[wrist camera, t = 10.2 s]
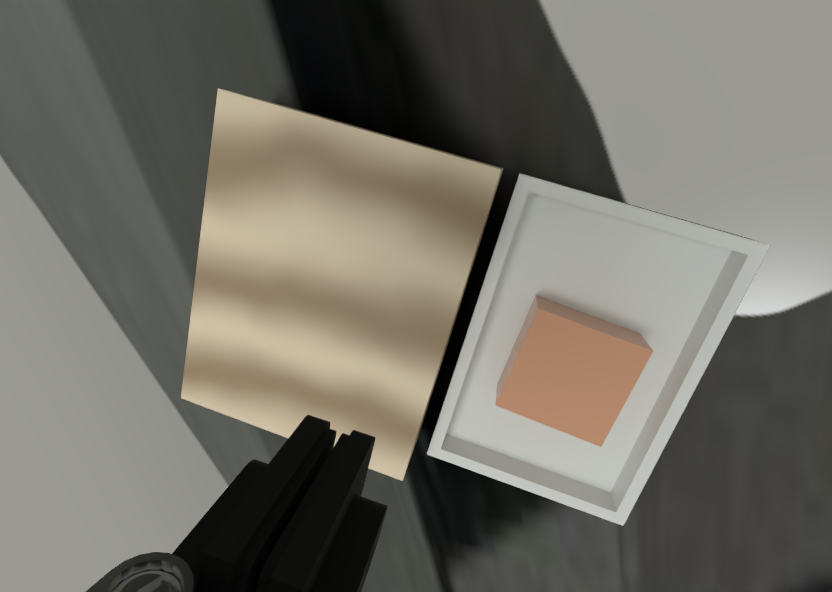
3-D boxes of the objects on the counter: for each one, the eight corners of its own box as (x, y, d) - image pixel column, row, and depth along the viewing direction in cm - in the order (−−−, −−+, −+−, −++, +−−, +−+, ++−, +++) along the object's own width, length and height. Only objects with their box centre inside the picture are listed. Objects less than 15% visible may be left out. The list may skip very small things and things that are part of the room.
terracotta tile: (653, 351, 27) (640, 333, 30) (537, 308, 28) (535, 294, 31) (601, 447, 29) (593, 422, 32) (495, 405, 30) (497, 384, 33)
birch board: (272, 102, 31) (217, 88, 25) (503, 168, 29) (501, 169, 24) (231, 362, 37) (180, 398, 32) (420, 430, 36) (402, 480, 30)
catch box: (519, 172, 29) (519, 173, 27) (748, 238, 28) (770, 245, 25) (432, 434, 35) (426, 454, 33) (615, 500, 34) (623, 525, 32)
